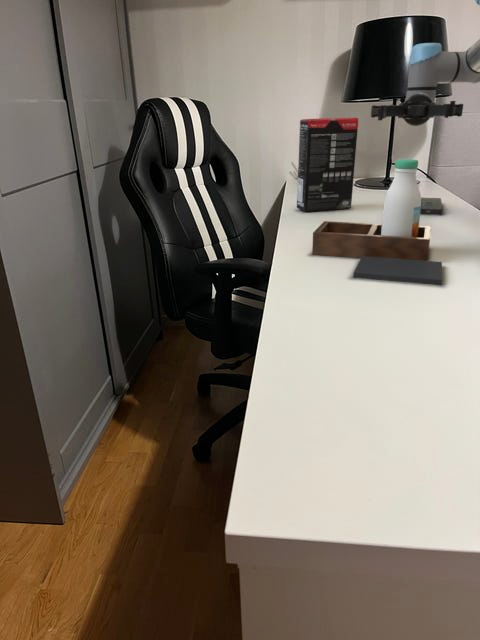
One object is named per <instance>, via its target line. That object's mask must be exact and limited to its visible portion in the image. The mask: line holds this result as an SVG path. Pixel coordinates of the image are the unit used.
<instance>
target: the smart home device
mask: <svg viewBox="0 0 480 640" xmlns="http://www.w3.org/2000/svg"><path fill="white" fill-rule="evenodd" d="M442 213H443V205H442V198H440V197H421V210H420V215H442Z"/></svg>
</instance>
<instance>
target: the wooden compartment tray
mask: <svg viewBox="0 0 480 640" xmlns="http://www.w3.org/2000/svg"><path fill="white" fill-rule="evenodd" d="M381 230H382V223H366V222H350V221H349V222H348V221H344V222H343V221H329V220H324V221H323V222H322V223H320V225H319V226H318V227H317V228H316V229H314V231H313V232H312V247H311V248H312V251H311V254H312V256H313V255H314V256H326V257H327V256H329V257H340V258H342V257H343V258H356V259H361V257H362V256H367V257H381V258H395V259H409V260H423V261H428V259H429V251H430V243H431V231H432V227H431V226H428V225H419V229H418V237H400V236H382V235H381Z"/></svg>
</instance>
